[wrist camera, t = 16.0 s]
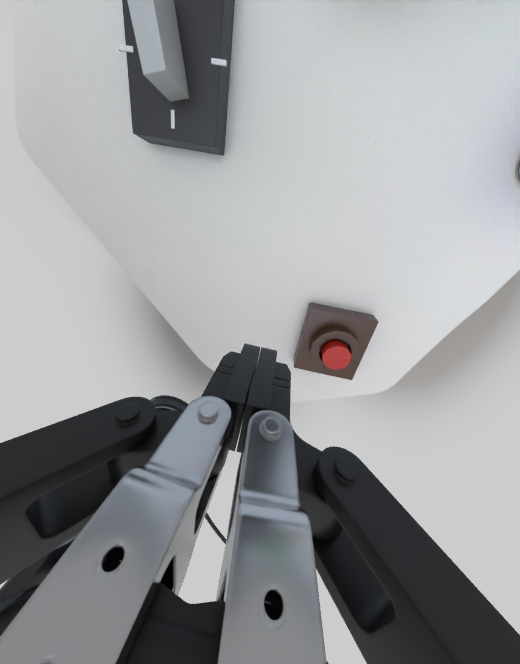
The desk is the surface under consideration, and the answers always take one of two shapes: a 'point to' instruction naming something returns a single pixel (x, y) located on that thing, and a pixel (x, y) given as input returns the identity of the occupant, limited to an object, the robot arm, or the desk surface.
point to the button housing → (333, 338)
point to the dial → (160, 46)
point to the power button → (335, 354)
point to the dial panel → (202, 80)
